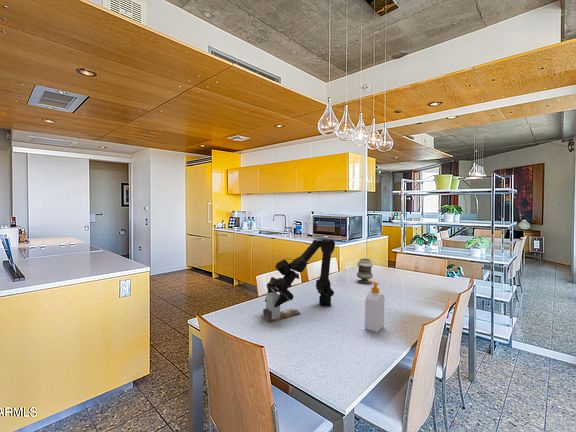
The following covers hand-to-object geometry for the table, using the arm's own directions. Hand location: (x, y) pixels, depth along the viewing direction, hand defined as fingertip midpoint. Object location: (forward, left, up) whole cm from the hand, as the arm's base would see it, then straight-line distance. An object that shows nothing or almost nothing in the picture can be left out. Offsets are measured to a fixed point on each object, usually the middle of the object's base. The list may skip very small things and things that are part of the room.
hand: (269, 304), depth 150 cm
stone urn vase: (-63, -78, -8) cm, 100 cm away
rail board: (-6, -5, -8) cm, 11 cm away
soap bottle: (-52, +4, -8) cm, 53 cm away
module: (-1, -1, -7) cm, 7 cm away
